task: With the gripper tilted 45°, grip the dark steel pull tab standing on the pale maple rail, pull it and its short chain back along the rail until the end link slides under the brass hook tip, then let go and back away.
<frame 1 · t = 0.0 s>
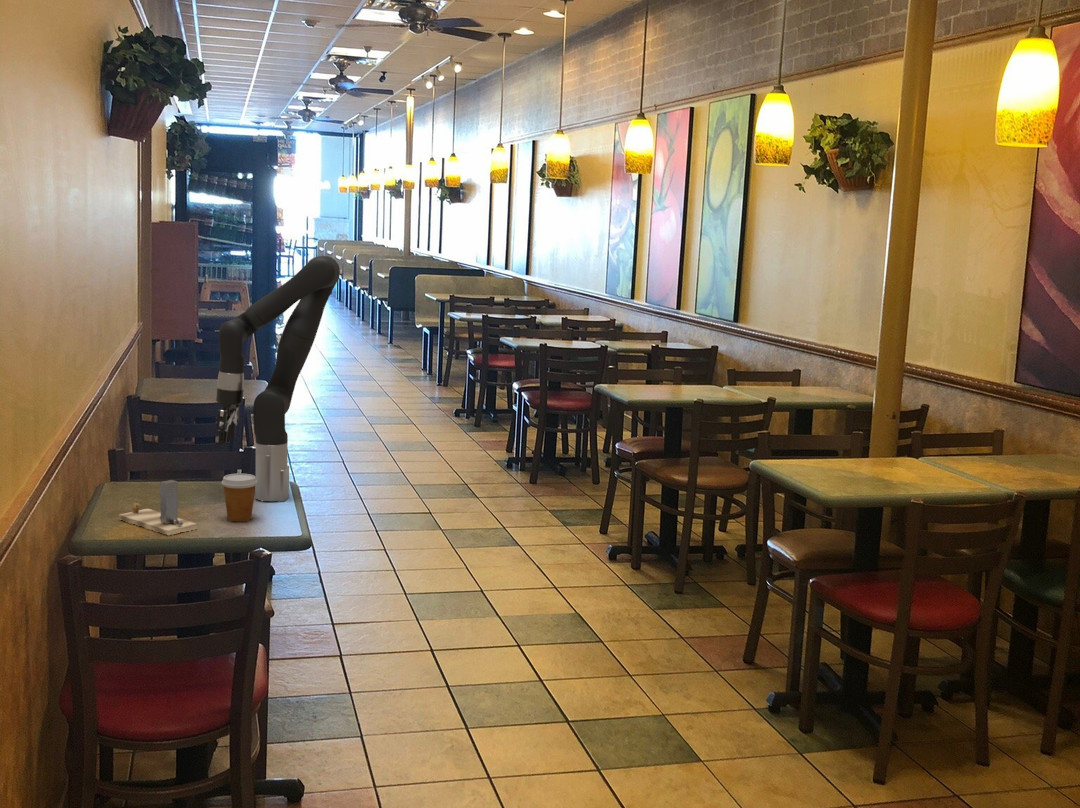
hand: (226, 440, 316), 17 cm above the table, tool pointing down, fingers open, 8 cm apart
disposable coffee cup: (239, 519, 296), on the table
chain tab: (171, 502, 282), point 7 cm above the table, slide at 0.0 cm
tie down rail: (157, 524, 287), on the table
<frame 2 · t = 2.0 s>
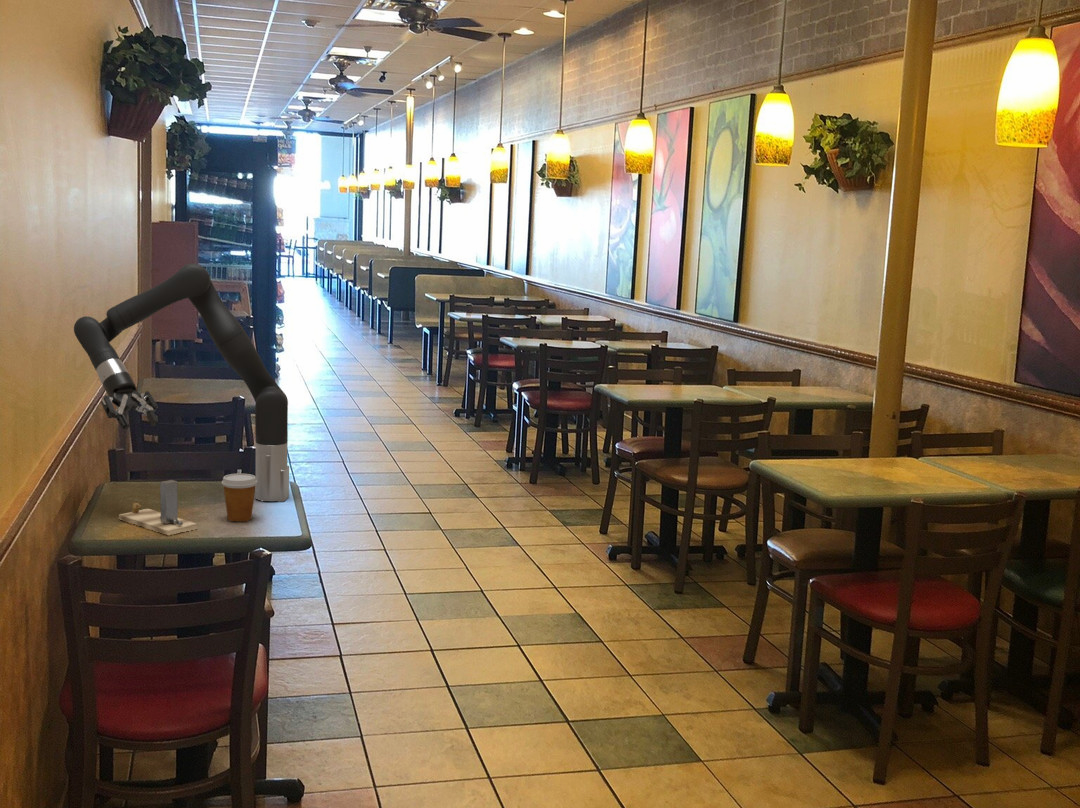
hand: (141, 426, 287), 26 cm above the table, tool tilted 45°, fingers open, 8 cm apart
nothing on the table moved.
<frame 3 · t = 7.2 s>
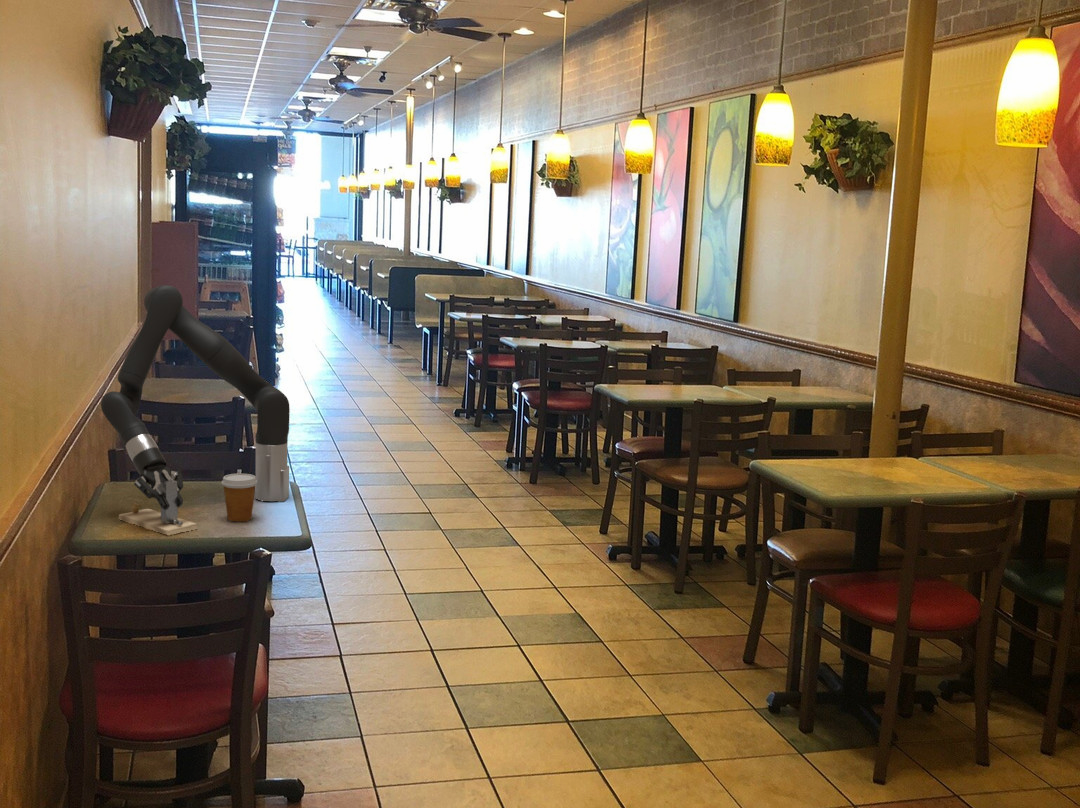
hand: (173, 506, 282), 6 cm above the table, tool tilted 45°, fingers closed on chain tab, 3 cm apart
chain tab: (171, 502, 282), point 7 cm above the table, slide at 0.0 cm, touching gripper
everything else where it was.
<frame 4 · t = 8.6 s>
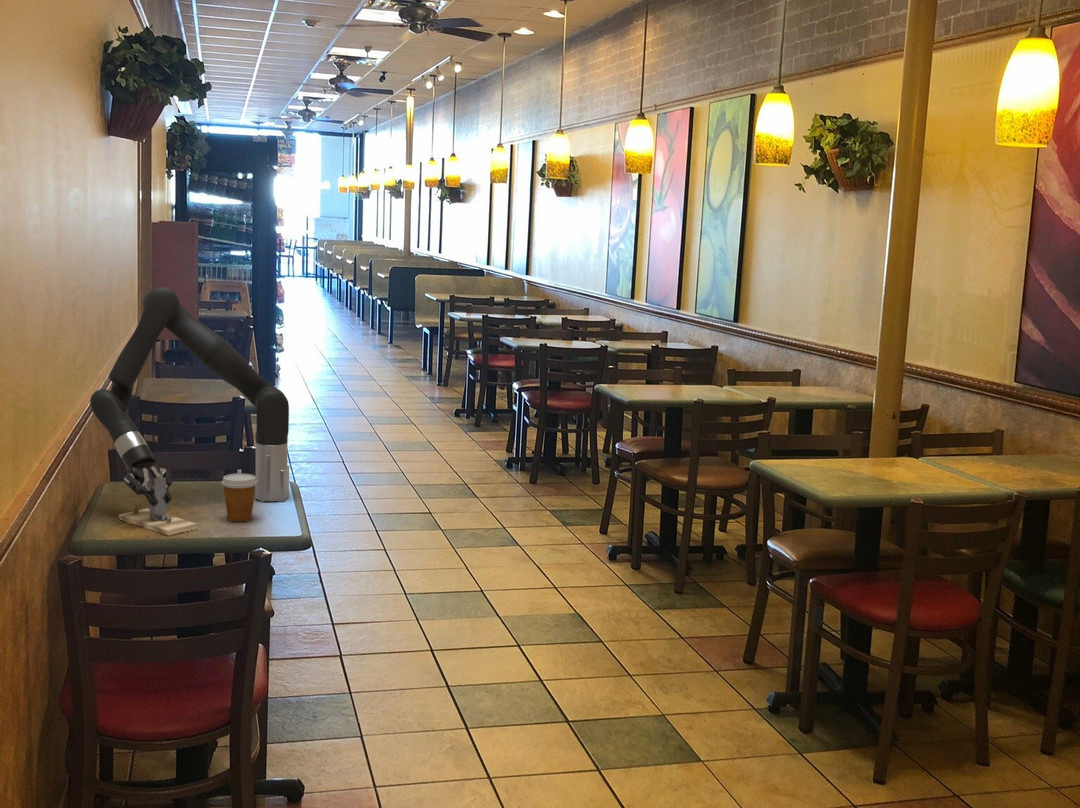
hand: (162, 503, 285), 6 cm above the table, tool tilted 45°, fingers closed on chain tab, 3 cm apart
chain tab: (160, 499, 285), point 7 cm above the table, slide at 4.9 cm, touching gripper
everything else where it was.
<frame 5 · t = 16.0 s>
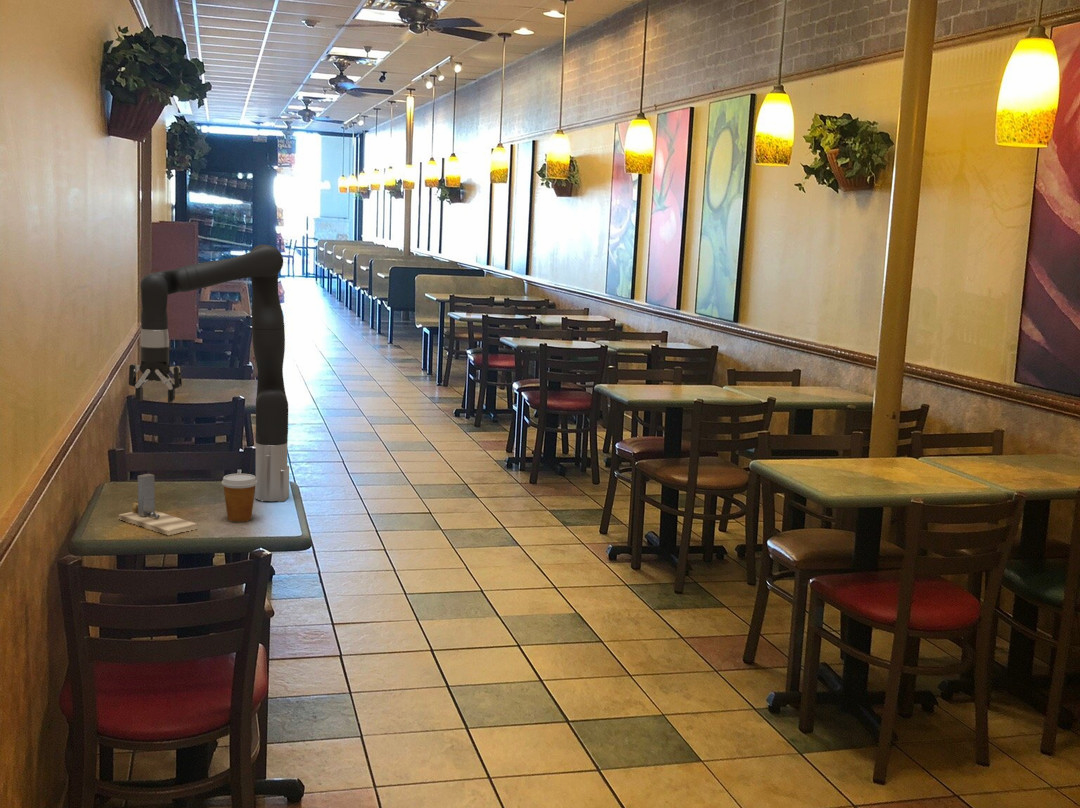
hand: (155, 401, 302), 30 cm above the table, tool pointing down, fingers open, 8 cm apart
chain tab: (148, 495, 288), point 7 cm above the table, slide at 10.0 cm
everything else where it was.
at the end: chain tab slide at 10.0 cm; the gripper is holding nothing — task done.
